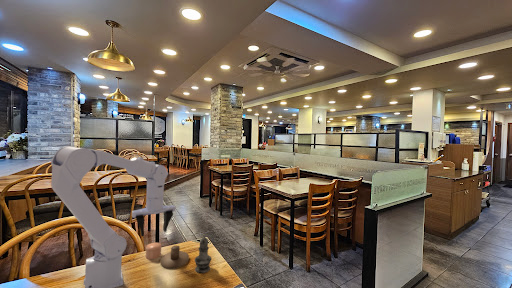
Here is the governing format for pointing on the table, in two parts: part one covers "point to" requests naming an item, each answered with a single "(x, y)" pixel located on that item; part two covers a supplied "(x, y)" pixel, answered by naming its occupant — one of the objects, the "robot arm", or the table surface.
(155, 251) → the cap
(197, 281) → the table surface
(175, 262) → the post stand
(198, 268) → the dark grey chess piece
